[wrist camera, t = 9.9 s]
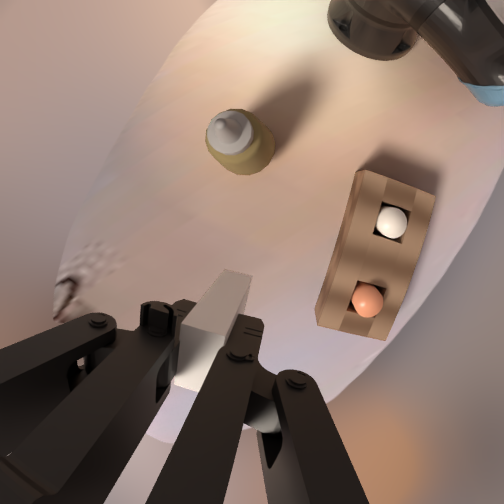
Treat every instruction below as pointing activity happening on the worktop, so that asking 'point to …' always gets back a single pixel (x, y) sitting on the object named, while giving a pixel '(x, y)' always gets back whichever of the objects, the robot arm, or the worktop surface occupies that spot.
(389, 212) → the white oval piece
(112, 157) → the worktop surface
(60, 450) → the robot arm
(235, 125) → the squeeze bottle
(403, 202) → the walnut plug block
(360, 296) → the terracotta plug
